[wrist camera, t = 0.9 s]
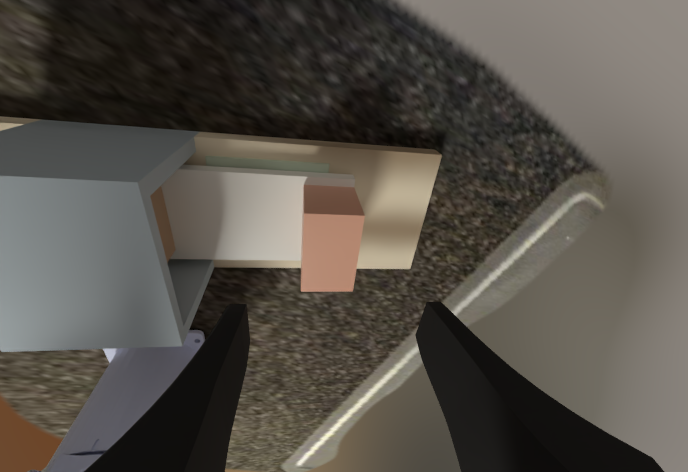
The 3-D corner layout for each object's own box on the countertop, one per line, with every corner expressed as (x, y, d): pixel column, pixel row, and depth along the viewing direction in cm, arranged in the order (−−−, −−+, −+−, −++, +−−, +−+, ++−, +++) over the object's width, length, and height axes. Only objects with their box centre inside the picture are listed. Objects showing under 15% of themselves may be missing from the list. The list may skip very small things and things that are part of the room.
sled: (343, 254, 21) (354, 308, 17) (75, 250, 19) (3, 313, 14) (353, 174, 18) (369, 215, 14) (33, 155, 15) (-76, 198, 11)
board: (405, 259, 24) (411, 270, 23) (22, 254, 20) (4, 267, 19) (434, 149, 19) (443, 155, 18) (-59, 111, 15) (-89, 117, 14)
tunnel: (218, 257, 22) (182, 346, 15) (97, 255, 21) (1, 351, 14) (200, 131, 17) (137, 182, 11) (41, 119, 16) (-140, 168, 9)
